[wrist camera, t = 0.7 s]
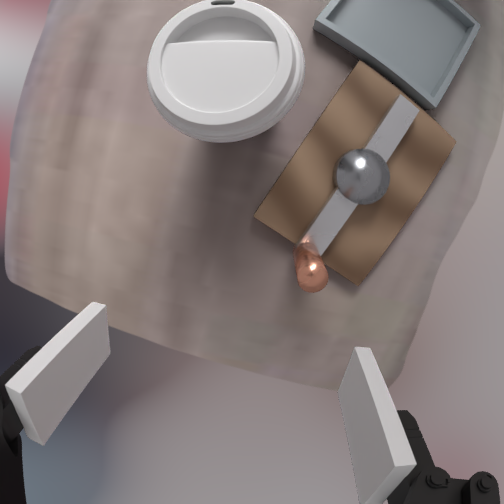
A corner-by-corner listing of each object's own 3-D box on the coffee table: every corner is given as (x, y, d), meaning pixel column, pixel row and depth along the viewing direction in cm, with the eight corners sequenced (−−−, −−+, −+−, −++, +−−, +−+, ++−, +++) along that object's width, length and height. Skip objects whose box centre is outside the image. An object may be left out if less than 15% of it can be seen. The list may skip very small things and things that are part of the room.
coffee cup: (308, 81, 28) (336, 22, 13) (267, 164, 30) (260, 170, 16) (222, 45, 27) (183, -28, 13) (180, 125, 30) (109, 106, 15)
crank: (385, 87, 25) (414, 71, 19) (424, 119, 26) (460, 113, 19) (276, 247, 31) (277, 273, 24) (318, 274, 31) (328, 305, 25)
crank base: (356, 64, 27) (359, 60, 25) (449, 141, 28) (456, 141, 26) (254, 213, 32) (253, 216, 30) (355, 281, 33) (358, 286, 32)
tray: (372, -43, 22) (377, -53, 19) (470, 30, 23) (480, 25, 21) (312, 28, 26) (315, 19, 23) (425, 110, 27) (436, 107, 25)
